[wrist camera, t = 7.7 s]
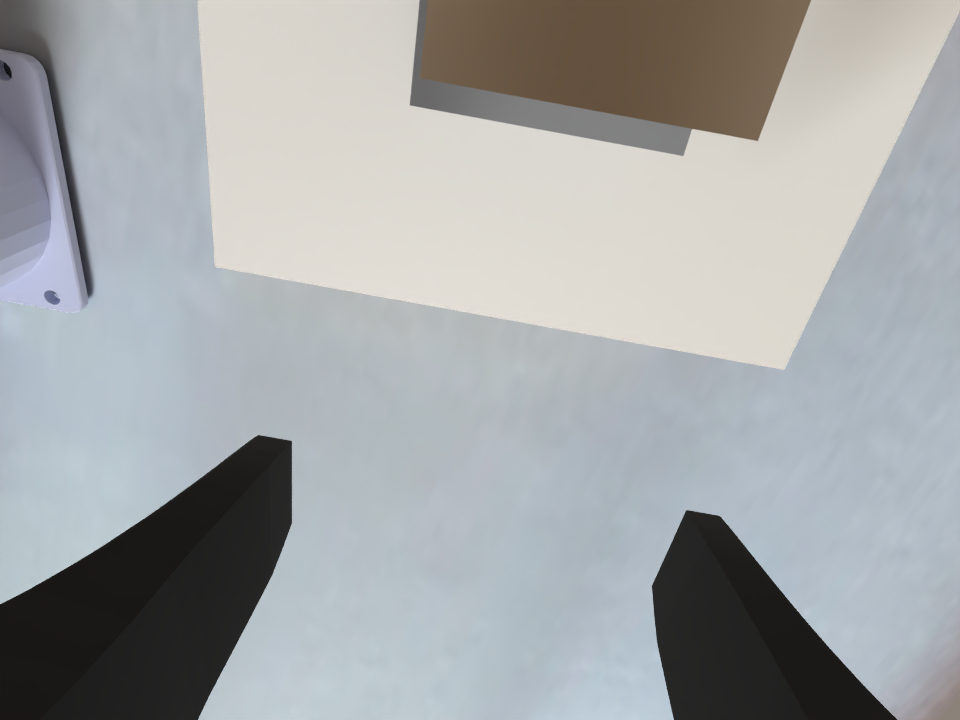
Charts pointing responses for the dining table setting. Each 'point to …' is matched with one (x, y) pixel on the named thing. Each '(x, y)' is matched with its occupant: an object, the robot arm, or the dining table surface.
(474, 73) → the post
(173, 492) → the dining table surface
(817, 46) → the stand base
